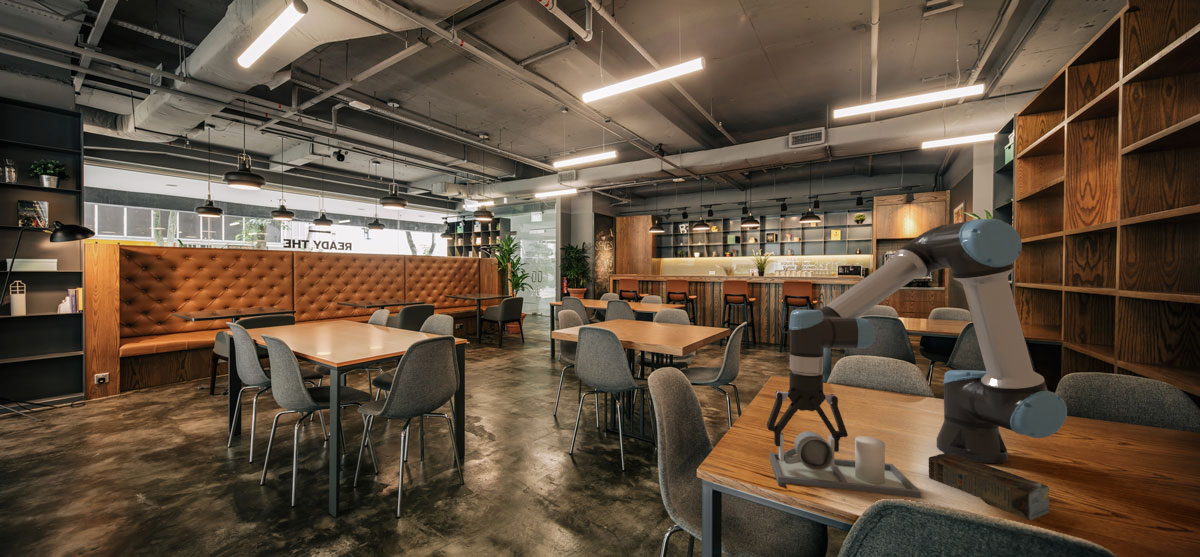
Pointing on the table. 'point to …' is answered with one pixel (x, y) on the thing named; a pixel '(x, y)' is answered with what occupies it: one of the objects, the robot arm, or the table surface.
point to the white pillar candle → (870, 460)
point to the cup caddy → (841, 477)
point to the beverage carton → (991, 485)
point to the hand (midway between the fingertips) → (805, 461)
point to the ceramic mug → (810, 451)
